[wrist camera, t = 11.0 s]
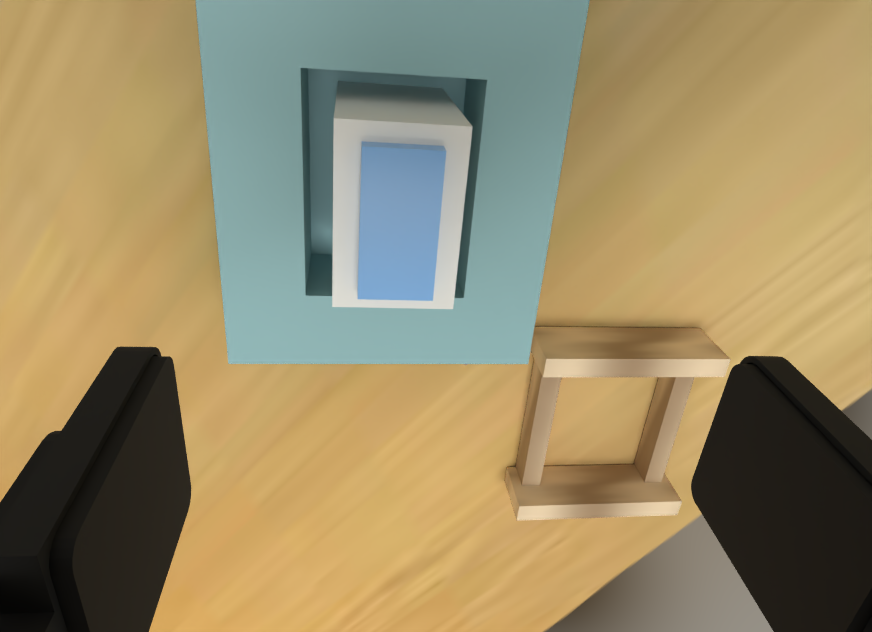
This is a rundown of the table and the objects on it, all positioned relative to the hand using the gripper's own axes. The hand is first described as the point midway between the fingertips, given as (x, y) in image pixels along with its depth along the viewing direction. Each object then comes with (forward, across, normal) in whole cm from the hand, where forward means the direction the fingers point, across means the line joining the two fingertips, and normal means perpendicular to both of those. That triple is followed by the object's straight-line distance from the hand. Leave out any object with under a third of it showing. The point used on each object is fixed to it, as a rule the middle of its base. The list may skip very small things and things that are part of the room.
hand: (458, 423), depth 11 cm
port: (+18, +1, 0) cm, 18 cm away
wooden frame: (+18, -11, +13) cm, 25 cm away
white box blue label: (+17, +1, 0) cm, 17 cm away
